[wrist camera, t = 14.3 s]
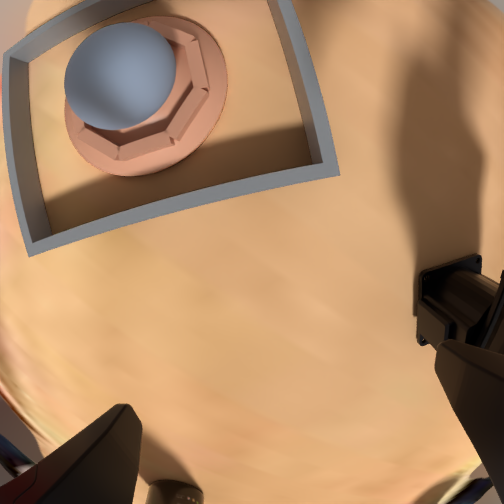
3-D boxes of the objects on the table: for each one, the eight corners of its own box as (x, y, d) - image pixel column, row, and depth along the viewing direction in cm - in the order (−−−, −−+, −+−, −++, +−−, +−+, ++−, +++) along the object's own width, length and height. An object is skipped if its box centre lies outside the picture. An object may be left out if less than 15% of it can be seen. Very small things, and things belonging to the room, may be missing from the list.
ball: (176, 36, 14) (153, -14, 8) (193, 118, 16) (172, 91, 10) (90, 68, 14) (42, 37, 8) (102, 149, 16) (47, 142, 10)
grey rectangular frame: (266, -32, 13) (269, -51, 11) (327, 174, 17) (340, 175, 15) (21, 60, 14) (3, 53, 11) (48, 248, 18) (28, 257, 16)
